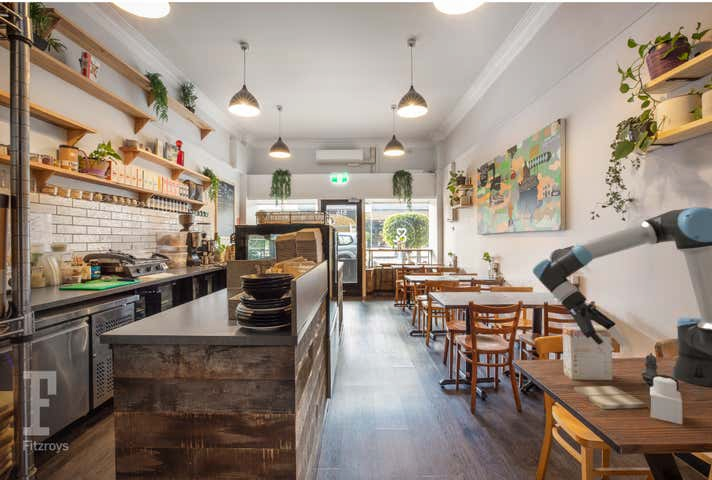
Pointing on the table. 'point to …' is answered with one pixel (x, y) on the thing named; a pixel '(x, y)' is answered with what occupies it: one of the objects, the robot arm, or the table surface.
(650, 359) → the grey chess piece
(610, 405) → the maple board
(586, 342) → the coffeecake box
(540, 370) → the table surface
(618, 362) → the table surface
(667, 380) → the medicine bottle
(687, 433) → the table surface
